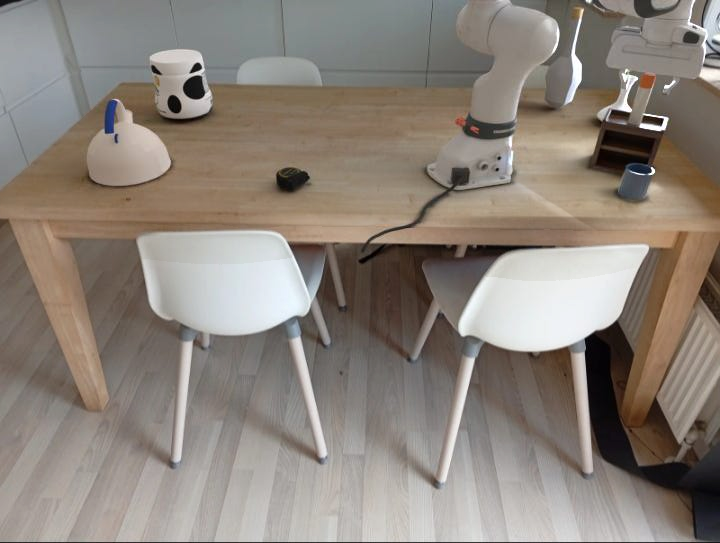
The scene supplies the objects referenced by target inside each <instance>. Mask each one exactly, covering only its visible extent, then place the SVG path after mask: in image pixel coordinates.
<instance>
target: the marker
mask: <svg viewBox="0 0 720 543" xmlns="http://www.w3.org/2000/svg"><path fill="white" fill-rule="evenodd" d="M657 76H658V74H654V73H647V72H642V74H641V77H640V81H639V83H638V88H637V90H636V94H635V97H634V101H633V104H632V107H631V113H630V116H629V120H628V123H629V124H632V125H640V124H641V122H642V119H643V115H644V114H645V112H646V109H647V107H648V103H649V100H650V97H651V94H652V92H653V87H654V84H655V81H656V79H657V78H656V77H657Z"/></svg>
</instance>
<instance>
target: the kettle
mask: <svg viewBox="0 0 720 543" xmlns="http://www.w3.org/2000/svg"><path fill="white" fill-rule="evenodd" d="M115 114H116V115H115ZM133 114H134V113H133V112H132V111H131V110H129V109H126V107H125V106H124V104H123V102H122V101H121V100H120V99H118V98H112V99H110V100H108V101H107V103H106V107H105V112H104V126H103V127H104V128H102V129H101V130H99V131H98V132H97V134H95V135H94V137H93V138H92V139H91V141H90V143H89V144H88V147H87V152H86V164H87V169H88V176H89V177H90V179H91V180H92V181H94V182H95V183H97V184H100V185H103V186H108V187H129V186H135V185H139V184H143V183H148V182H150V181H153V180H155V179H157V178H159V177H161V176H162V175H164V174H165V173H166V172H167V171H168V170H169V169H170V167H171V165H172V161H171V159H170V155H169V153H168V149H167V147H166V145H165V144H164V143H163V141H162V140H161V138H160V136H158V135H157V134H156V133H155V132H153V131H152V130H151V129H149V128H147V127H145V126H142V125H140V124H137V123H134V121H133V120H134V119H133ZM115 116H116V117H117V122H116V123H115Z"/></svg>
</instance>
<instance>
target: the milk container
mask: <svg viewBox="0 0 720 543" xmlns="http://www.w3.org/2000/svg"><path fill="white" fill-rule="evenodd" d="M148 61H149V67H150V71H151V76H152V80H153V84H154V104H155V106H156V109H157V112H158V113H159V114H160V115H161V117H163V118H166V119H168V120H173V121H188V120H195V119H200V118H202V117H205V116H206V115H208V114H209V113H210V112H212V109H213V107H214V106H213V105H214V99H213V94H212V91H211V89H210V87H209V84H208V81H207V76H206V68H205V63H204V58H203V55H202V53H201V52H200V51H198V50H195V49H187V48H185V49H183V48H178V49H168V50H162V51H161V50H160V51H158V52H155V53H153V54H152V55H150V56H149V59H148Z"/></svg>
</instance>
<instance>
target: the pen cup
mask: <svg viewBox="0 0 720 543" xmlns="http://www.w3.org/2000/svg"><path fill="white" fill-rule="evenodd" d="M655 173H656V170H655V169H654V168H653V166H652V167H650V166H648V165H644V164H639V163H631V164H627V165H626V167H625V170H624V173H622V176H621V179H620V182H619V186H618V188H617V193H618V194H619V196H620V197H623V198H625V199H628V200H632V201H633V200H634V201H640V200H641V201H642V200H644V199H646V197H647V195H648V192H649V190H650V187H651V185H652V182H653V178H654V176H655Z"/></svg>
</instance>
